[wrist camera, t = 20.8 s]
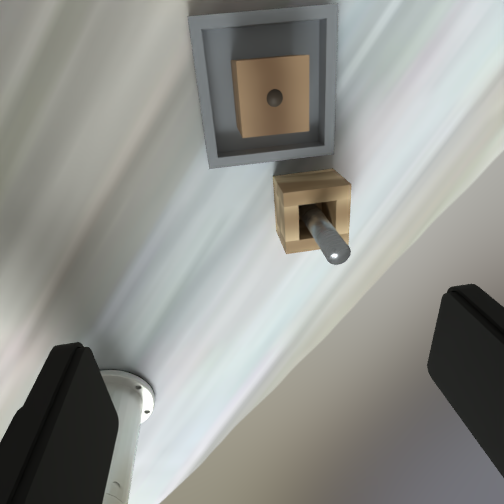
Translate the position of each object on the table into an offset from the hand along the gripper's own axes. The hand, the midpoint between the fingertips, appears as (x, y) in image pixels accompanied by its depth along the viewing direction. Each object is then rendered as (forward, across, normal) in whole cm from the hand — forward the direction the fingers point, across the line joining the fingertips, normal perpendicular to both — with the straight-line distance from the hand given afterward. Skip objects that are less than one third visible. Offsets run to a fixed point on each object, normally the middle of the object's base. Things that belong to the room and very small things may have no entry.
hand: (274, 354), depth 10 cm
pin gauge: (+31, -9, +9) cm, 34 cm away
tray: (+32, -5, -4) cm, 33 cm away
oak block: (+32, -9, +9) cm, 35 cm away
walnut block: (+31, -5, -4) cm, 32 cm away
